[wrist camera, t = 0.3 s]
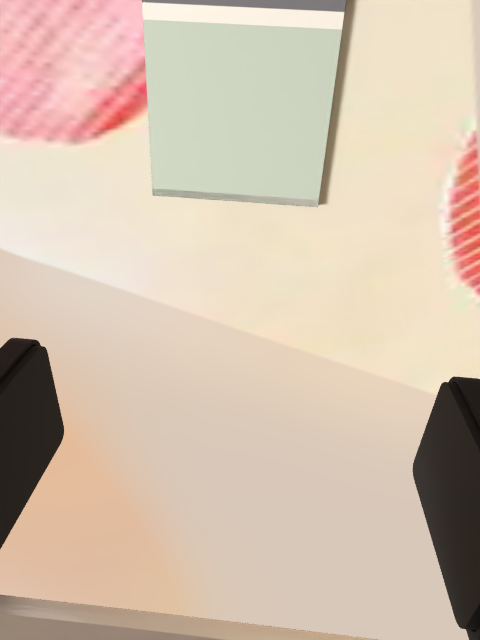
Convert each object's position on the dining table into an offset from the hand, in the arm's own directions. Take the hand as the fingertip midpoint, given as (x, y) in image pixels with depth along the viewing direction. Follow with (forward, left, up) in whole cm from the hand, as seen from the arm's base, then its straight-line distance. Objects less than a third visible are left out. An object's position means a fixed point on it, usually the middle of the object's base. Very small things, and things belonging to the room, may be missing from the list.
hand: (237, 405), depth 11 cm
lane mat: (-7, -3, -30) cm, 31 cm away
